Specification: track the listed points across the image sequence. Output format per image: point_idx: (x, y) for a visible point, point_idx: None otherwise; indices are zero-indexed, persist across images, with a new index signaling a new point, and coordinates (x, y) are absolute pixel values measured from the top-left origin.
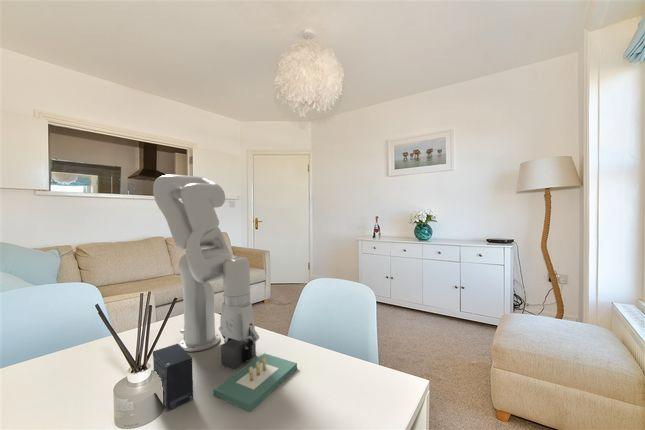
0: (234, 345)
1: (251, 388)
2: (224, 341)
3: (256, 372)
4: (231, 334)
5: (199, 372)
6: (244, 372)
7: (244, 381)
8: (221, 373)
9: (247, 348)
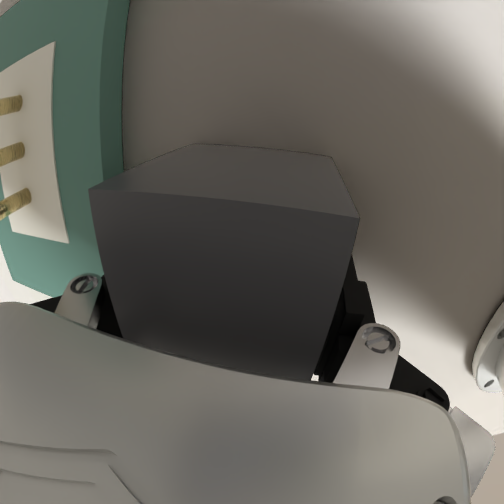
0: (157, 277)
1: (2, 71)
2: (393, 339)
3: (10, 146)
4: (113, 412)
5: (416, 43)
6: (68, 124)
7: (30, 74)
8: (250, 77)
9: (76, 282)
